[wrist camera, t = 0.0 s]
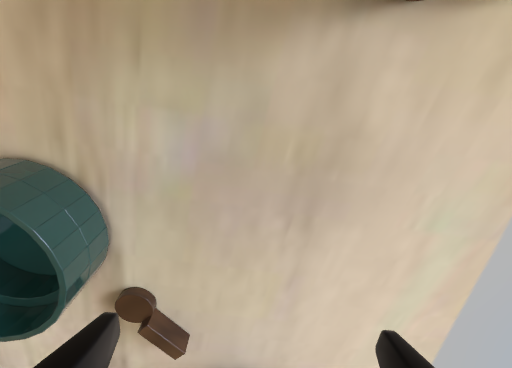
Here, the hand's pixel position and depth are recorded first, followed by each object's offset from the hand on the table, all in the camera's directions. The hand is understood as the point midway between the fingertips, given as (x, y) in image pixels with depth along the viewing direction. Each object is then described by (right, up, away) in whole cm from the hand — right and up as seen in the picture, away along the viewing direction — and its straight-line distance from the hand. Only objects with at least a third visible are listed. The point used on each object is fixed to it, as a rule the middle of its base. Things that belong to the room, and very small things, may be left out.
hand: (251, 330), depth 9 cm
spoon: (-10, -9, +19) cm, 24 cm away
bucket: (-20, +1, +15) cm, 25 cm away
